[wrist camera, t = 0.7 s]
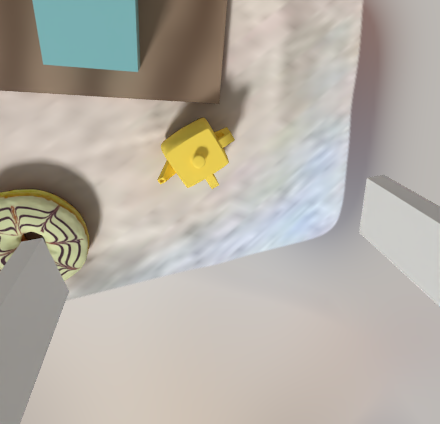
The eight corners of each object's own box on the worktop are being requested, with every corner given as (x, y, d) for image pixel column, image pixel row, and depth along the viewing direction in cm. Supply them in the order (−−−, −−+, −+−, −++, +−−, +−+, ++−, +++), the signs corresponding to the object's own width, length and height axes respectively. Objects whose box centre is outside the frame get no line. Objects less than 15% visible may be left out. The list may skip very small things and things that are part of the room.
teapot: (176, 192, 33) (180, 215, 28) (144, 148, 30) (143, 166, 25) (239, 153, 32) (253, 171, 28) (212, 105, 29) (224, 115, 25)
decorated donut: (6, 276, 34) (-10, 300, 31) (-39, 190, 28) (-64, 208, 25) (102, 261, 35) (97, 283, 32) (76, 176, 30) (67, 193, 27)
